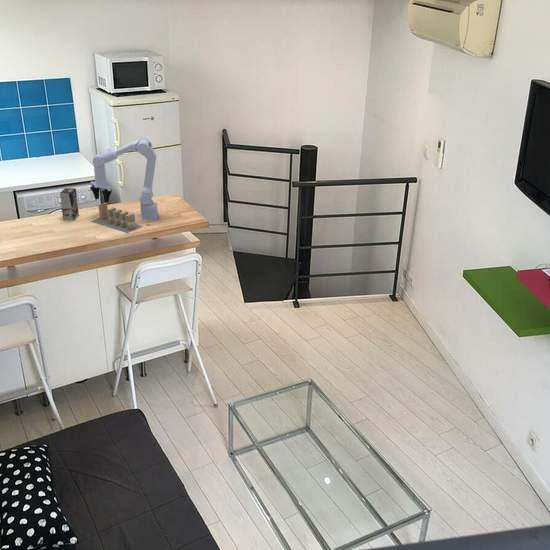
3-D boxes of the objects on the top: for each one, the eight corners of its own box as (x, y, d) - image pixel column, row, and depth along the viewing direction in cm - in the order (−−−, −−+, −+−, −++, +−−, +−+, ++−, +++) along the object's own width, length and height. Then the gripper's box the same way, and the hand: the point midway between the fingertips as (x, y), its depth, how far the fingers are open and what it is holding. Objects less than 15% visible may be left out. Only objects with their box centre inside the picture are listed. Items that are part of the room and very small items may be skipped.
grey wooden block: (114, 225, 337) (113, 211, 333) (120, 222, 340) (119, 209, 337) (117, 226, 336) (115, 212, 332) (123, 223, 339) (121, 209, 336)
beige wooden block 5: (126, 229, 333) (125, 215, 329) (132, 226, 336) (131, 212, 332) (129, 230, 332) (128, 215, 328) (135, 227, 335) (134, 213, 332)
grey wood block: (108, 223, 339) (107, 209, 336) (114, 221, 343) (113, 207, 339) (110, 224, 338) (109, 210, 335) (117, 221, 342) (115, 208, 338)
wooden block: (120, 227, 335) (119, 213, 331) (126, 224, 338) (125, 210, 335) (123, 228, 334) (121, 214, 330) (129, 225, 337) (128, 211, 334)
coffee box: (74, 221, 342) (71, 193, 334) (62, 221, 342) (59, 193, 335) (79, 215, 350) (76, 188, 343) (68, 215, 350) (64, 187, 343)
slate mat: (90, 222, 341) (90, 221, 341) (106, 215, 350) (106, 215, 350) (127, 233, 328) (127, 233, 328) (143, 227, 337) (143, 226, 337)
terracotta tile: (99, 218, 346) (98, 204, 342) (105, 216, 349) (104, 202, 345) (102, 219, 345) (101, 205, 341) (108, 216, 348) (107, 203, 345)
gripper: (85, 175, 337) (87, 199, 343) (103, 181, 330) (105, 205, 336) (95, 172, 342) (97, 196, 348) (113, 178, 335) (115, 202, 341)
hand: (101, 200), depth 342 cm, fingers open, 7 cm apart
